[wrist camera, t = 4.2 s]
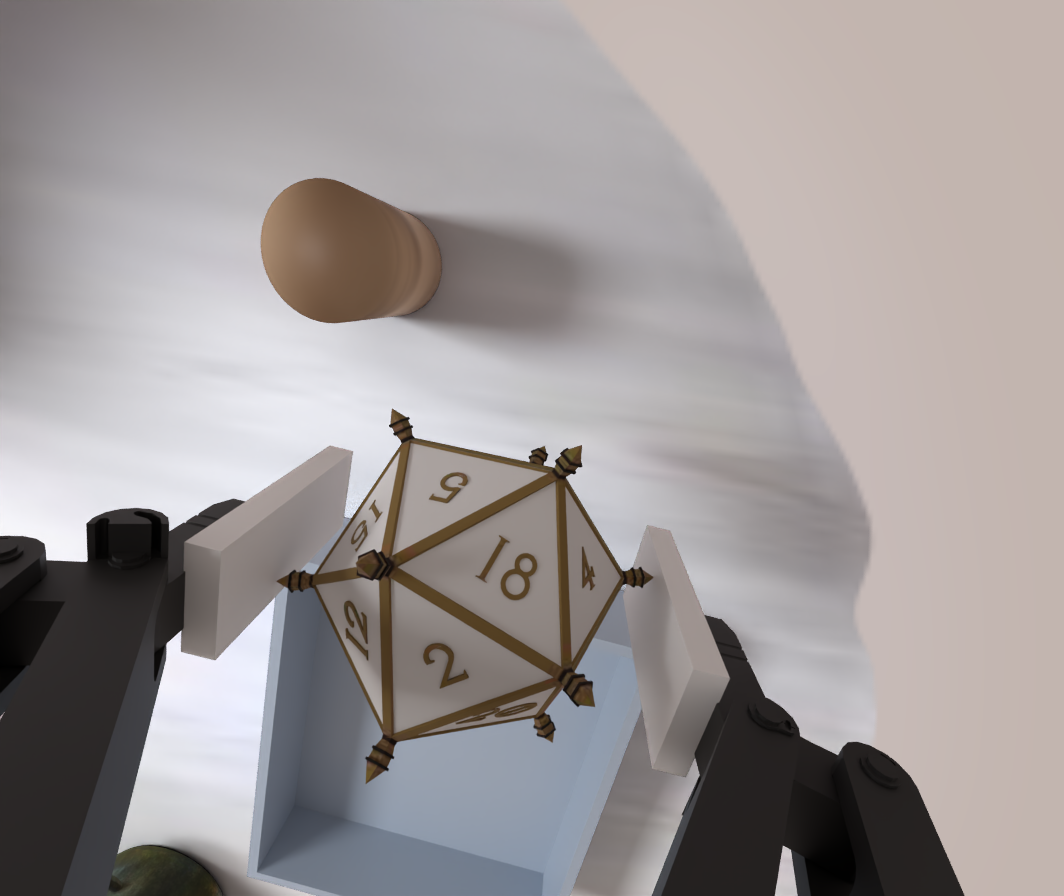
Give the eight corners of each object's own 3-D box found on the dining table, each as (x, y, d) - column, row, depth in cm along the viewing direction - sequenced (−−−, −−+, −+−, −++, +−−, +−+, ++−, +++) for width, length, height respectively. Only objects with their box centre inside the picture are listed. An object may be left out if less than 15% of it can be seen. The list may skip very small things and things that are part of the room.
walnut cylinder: (337, 302, 26) (255, 305, 20) (350, 197, 25) (266, 163, 18) (432, 326, 26) (381, 337, 20) (450, 223, 25) (402, 197, 18)
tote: (290, 801, 37) (246, 876, 32) (327, 512, 30) (279, 554, 25) (550, 872, 37) (545, 958, 32) (649, 597, 30) (661, 655, 25)
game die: (553, 462, 21) (786, 585, 13) (435, 645, 20) (605, 892, 12) (368, 326, 15) (578, 399, 7) (198, 573, 15) (231, 938, 7)
